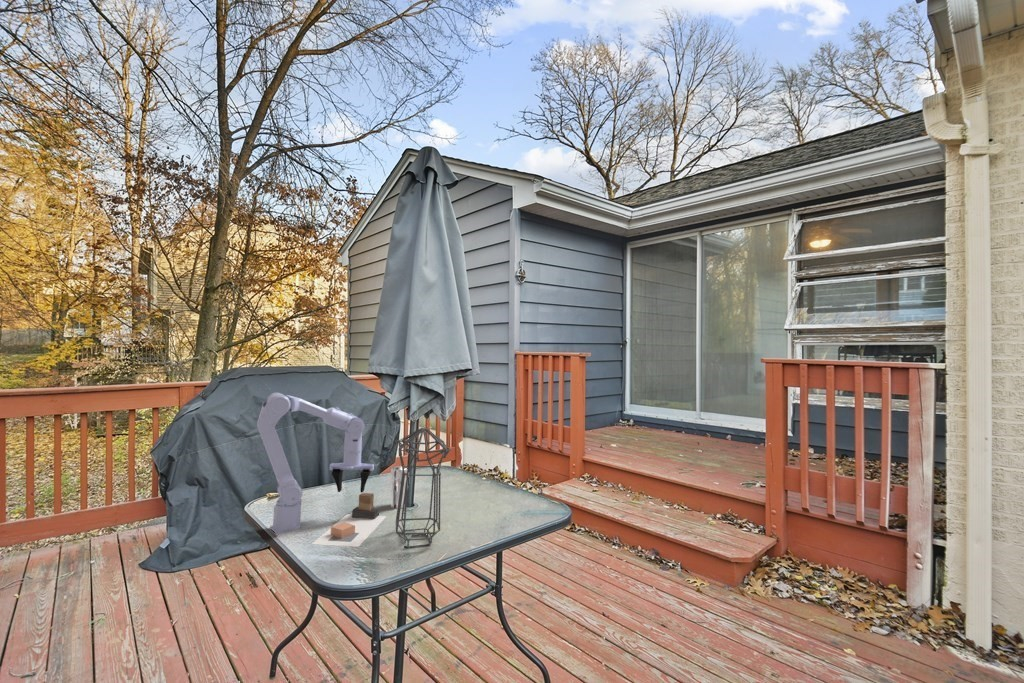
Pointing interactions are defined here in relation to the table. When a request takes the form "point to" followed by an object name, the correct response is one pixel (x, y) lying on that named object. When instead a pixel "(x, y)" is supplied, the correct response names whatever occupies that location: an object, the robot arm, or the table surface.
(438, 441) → the geometric lantern
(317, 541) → the board
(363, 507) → the brown block stamp
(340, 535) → the tile
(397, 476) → the beer glass
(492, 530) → the table surface
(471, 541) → the table surface
